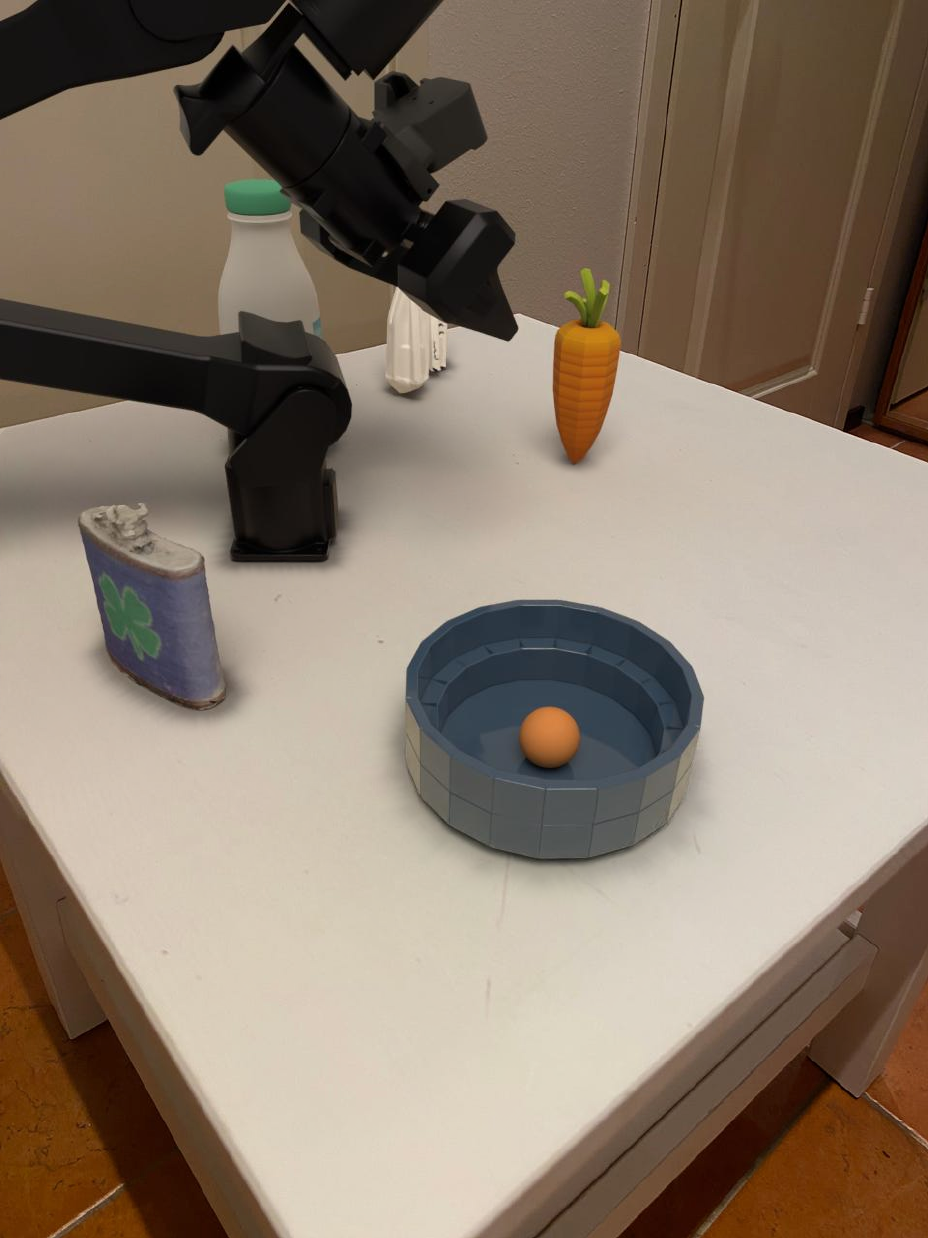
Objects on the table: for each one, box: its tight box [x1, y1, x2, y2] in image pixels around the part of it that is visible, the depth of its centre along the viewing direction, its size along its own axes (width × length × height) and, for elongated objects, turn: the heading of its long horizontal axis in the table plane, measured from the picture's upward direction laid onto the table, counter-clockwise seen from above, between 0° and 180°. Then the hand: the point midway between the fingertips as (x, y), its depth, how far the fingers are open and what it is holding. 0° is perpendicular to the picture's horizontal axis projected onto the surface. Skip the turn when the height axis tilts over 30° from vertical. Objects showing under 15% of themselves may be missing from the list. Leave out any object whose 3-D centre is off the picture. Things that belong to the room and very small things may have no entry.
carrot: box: [552, 267, 622, 465], centre depth 71 cm, size 5×5×15 cm
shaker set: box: [384, 286, 448, 394], centre depth 87 cm, size 12×4×11 cm, turn 167°
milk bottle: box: [217, 178, 323, 340], centre depth 71 cm, size 8×8×20 cm
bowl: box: [404, 599, 705, 859], centre depth 46 cm, size 14×14×5 cm
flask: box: [77, 502, 227, 711], centre depth 50 cm, size 9×3×11 cm, turn 51°
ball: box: [519, 707, 580, 768], centre depth 46 cm, size 3×3×3 cm
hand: (475, 314), depth 63 cm, fingers open, 9 cm apart
